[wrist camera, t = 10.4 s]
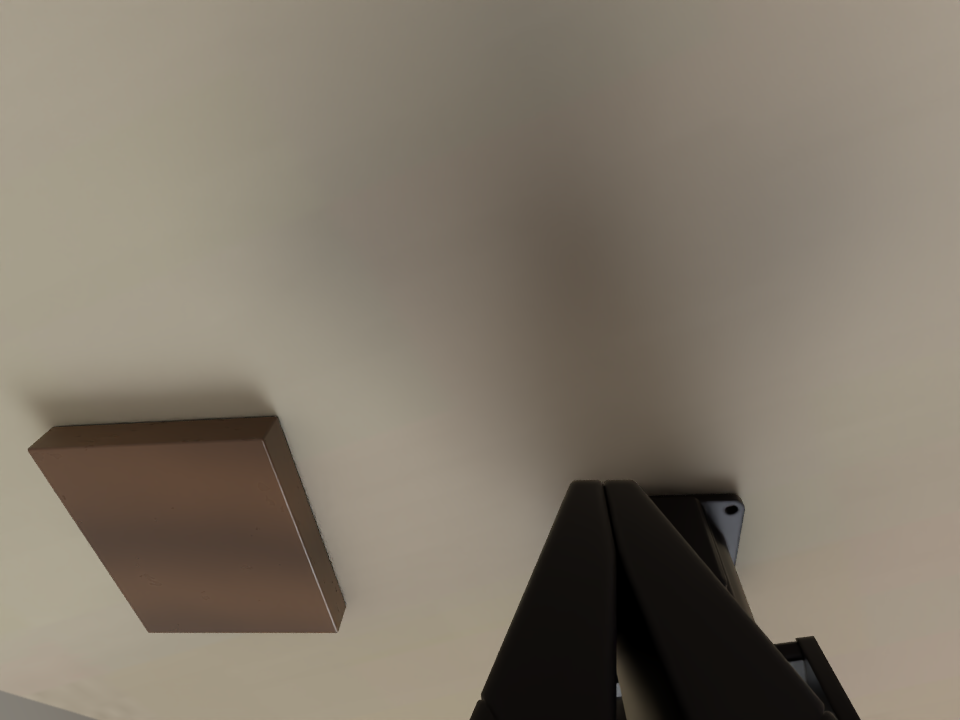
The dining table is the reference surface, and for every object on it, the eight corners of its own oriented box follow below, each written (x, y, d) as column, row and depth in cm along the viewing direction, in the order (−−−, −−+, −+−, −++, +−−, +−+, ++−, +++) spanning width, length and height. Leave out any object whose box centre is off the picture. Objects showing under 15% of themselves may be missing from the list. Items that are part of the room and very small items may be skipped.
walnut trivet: (346, 606, 29) (338, 633, 28) (163, 607, 30) (147, 633, 29) (277, 415, 23) (262, 439, 22) (52, 426, 24) (25, 449, 23)
